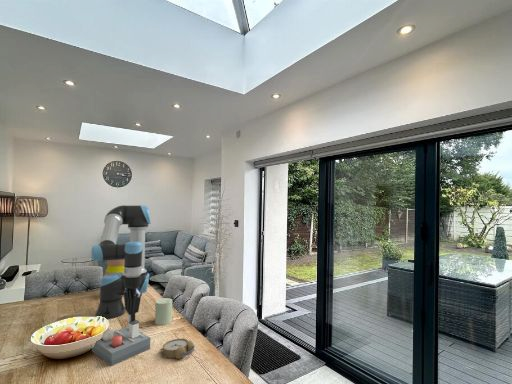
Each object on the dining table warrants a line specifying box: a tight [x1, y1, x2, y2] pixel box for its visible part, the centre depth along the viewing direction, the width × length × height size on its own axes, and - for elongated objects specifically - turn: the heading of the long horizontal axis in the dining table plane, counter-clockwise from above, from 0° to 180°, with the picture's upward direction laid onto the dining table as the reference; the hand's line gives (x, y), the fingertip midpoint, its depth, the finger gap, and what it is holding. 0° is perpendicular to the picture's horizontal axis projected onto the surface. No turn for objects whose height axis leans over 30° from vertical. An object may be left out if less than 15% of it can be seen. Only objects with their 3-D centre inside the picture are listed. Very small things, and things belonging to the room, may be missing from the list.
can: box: [154, 297, 173, 326], centre depth 153 cm, size 9×9×12 cm
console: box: [91, 326, 151, 366], centre depth 123 cm, size 19×17×6 cm
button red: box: [111, 335, 122, 348], centre depth 118 cm, size 4×4×4 cm
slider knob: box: [129, 319, 140, 339], centre depth 125 cm, size 3×3×7 cm
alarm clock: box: [160, 338, 195, 360], centre depth 121 cm, size 11×5×15 cm
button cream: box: [102, 329, 114, 342], centre depth 123 cm, size 4×4×4 cm
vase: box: [103, 259, 124, 298], centre depth 201 cm, size 22×22×30 cm
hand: (131, 327), depth 126 cm, fingers closed
